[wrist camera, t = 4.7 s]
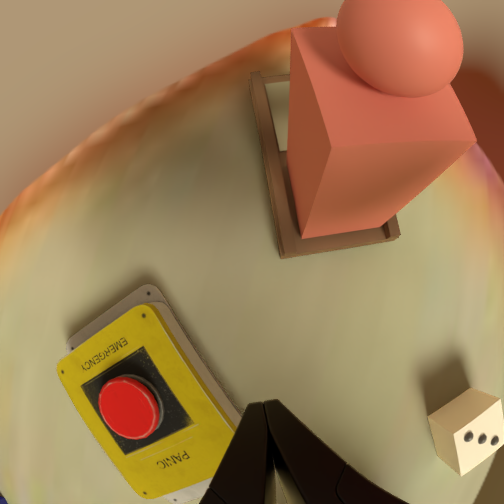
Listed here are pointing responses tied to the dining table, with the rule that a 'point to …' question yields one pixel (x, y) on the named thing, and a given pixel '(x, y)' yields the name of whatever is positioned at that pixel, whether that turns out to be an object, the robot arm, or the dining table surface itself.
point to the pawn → (372, 112)
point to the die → (467, 429)
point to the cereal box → (2, 500)
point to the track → (275, 155)
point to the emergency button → (149, 397)
